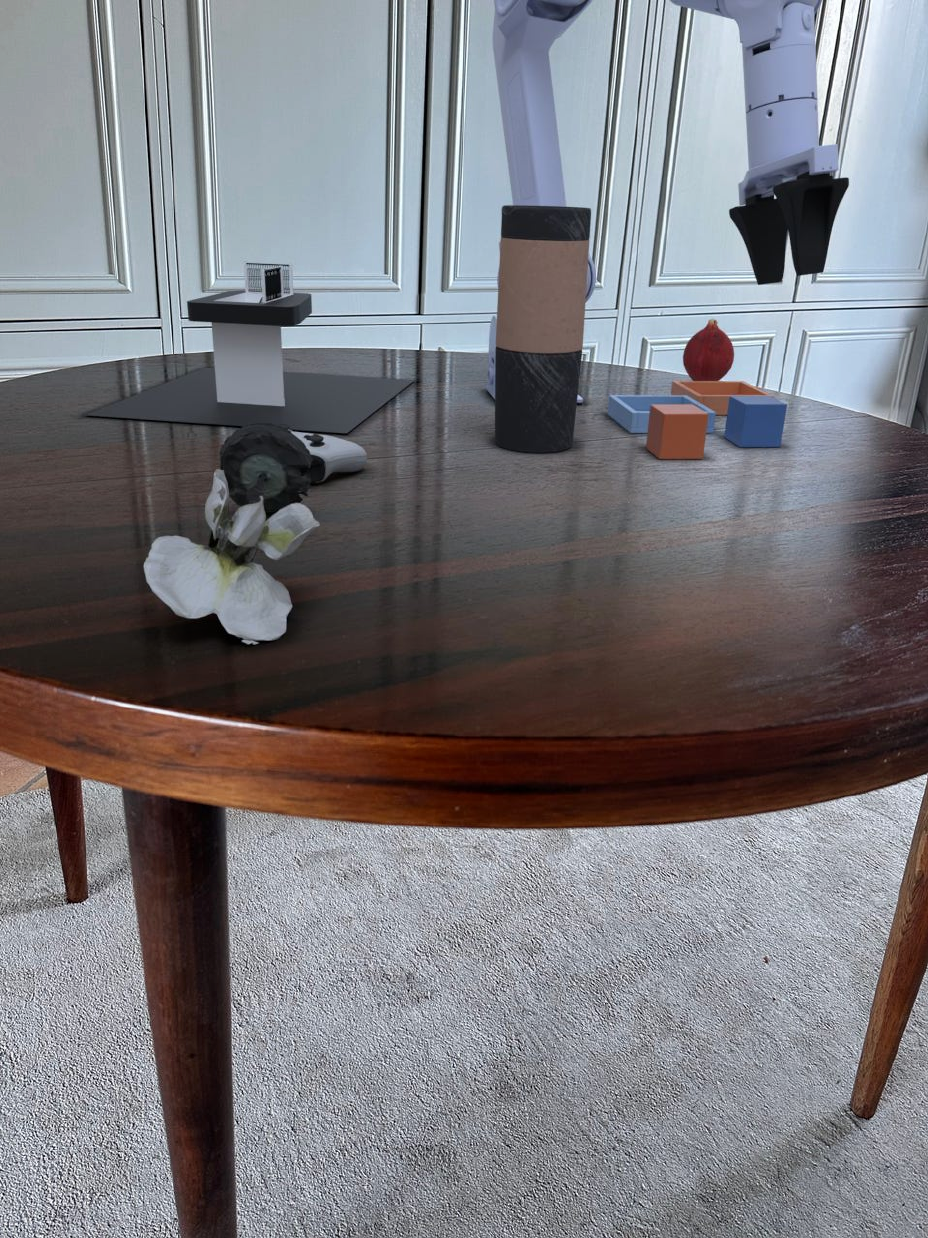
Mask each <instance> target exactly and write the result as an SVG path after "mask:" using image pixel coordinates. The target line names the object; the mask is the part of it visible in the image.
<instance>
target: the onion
mask: <svg viewBox="0 0 928 1238" xmlns="http://www.w3.org/2000/svg"><path fill="white" fill-rule="evenodd" d="M718 323H719V322H718V321H717V320H716V319H715V318H711V319H709V320H708V321H707V324H706V326H705V327H703V328H702V329H700V330H699V331H697V332H696V333H695V334H693V335H692V337H690V339H689V340H688V341H687V343H686V345H685V347H684V349H683V355H682V365H683V367H684V370H685V372H686V373H687V375H688V377H689V378H690V379H691V381H722V379H723V378H724V377H726V375H727V374H728V373H729V371H730V370H731V369H732V367H733V364H734V361H735V348H734V346H733V342H732V341H731V338H730V337H729V336H728V335H727V334H726V333H725V332H724V331H723V330H722V329H721V328H720V327H719V326H718Z"/></svg>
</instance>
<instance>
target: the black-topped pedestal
mask: <svg viewBox="0 0 928 1238" xmlns="http://www.w3.org/2000/svg"><path fill="white" fill-rule="evenodd" d="M255 267H257V268H255ZM262 267H264V268H262ZM287 268H288V269H287ZM284 271H285V272H284ZM254 272H255V273H254ZM243 273H244V274H243V275H244V289H245V290H244V289H243V290H241V289H240V290H227V291H224V292H219V293H215V294H211V295H207V296H202V297H199V298H195V299H191V300H187V301H186V305H187V306H186V308H187V317H188V318H187V319H188V321H189V322H194V323H195V322H196V323H197V322H198V323H211V333H212V349H213V362H214V367H202V368H199V369H198V370H195V371H192V372H190V373H187V374H185V375H183V376H179V377H177V378H175V379H172V380H170V381H167V382H165V383H162V384H160V385H156V386H154V387H152V388H150V389H147V390H145V391H142V392H139V393H136V394H134V395H132V396H129V397H127V398H125V399H122V400H119V401H116V402H114V403H112V404H109V405H106V406H104V407H101V408H99V409H96V410H94V411H91V412H89V413H86V414H85V416H91V417H104V418H105V417H107V418H119V419H120V418H122V419H134V420H135V419H136V420H149V421H150V420H151V421H163V422H178V423H193V424H204V425H205V424H207V425H219V426H220V425H223V426H233V427H234V426H237V427H243V426H246V425H250V424H254V423H271V424H274V425H277V426H278V425H280V424H288V425H290V429H289V430H291V431H293V430H295V431H306V432H321V433H336V434H338V433H339V434H349V432H350V431H352V430H353V429H354V428H356V427H357V426H358V425H360V424H361V423H362V422H363V421H365V420H366V419H368V418H369V417H370V416H371V415H372V414H373V413H375V412H376V411H377V410H379V409H380V408H382V406H384V405H385V404H386V403H388V402H389V401H390V400H391V399H393V398H394V397H395V396H396V395H398V394H399V393H400V392H401V391H403V390H404V389H405V388H407V387H408V386H409V385H411V384H412V383H413V382H414V381H415V380H414V379H402V378H400V379H399V378H385V377H384V378H383V377H367V376H350V375H336V374H335V375H334V374H318V373H317V374H316V373H301V372H284V361H283V341H282V327H294V326H299V325H300V324H302V323H303V321H304V320H306V319H308V317H309V316H310V315H311V314H312V313H313V303H312V302H313V300H312V299H313V298H312V293H306V292H294V279H293V278H294V275H293V263H292V262H289V263H288V264H285V263H284V264H282V263H281V264H280V263H260V262H259V263H258V262H248V261H247V260H244V261H243ZM286 274H287V277H286ZM249 276H250V278H249ZM256 276H257V277H256ZM288 279H289V282H288ZM258 280H259V282H258ZM251 281H252V282H251ZM253 285H254V286H253ZM260 285H261V286H260ZM251 289H253V290H251ZM258 289H260V290H258ZM288 290H289V291H288Z"/></svg>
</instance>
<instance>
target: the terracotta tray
mask: <svg viewBox="0 0 928 1238" xmlns="http://www.w3.org/2000/svg"><path fill="white" fill-rule="evenodd" d="M670 395H681V396H682V395H687V396H689V397H690V398H692V399H694V400H695V401H697V402H699V403H701V404H702V405H704V406H706V407H707V408H709V409H711V410H713V411H714V412H716V416H727V411H728V404H729V396H771V397H773V398H775V395H773V394H771V393H770V392H767V391H764V390H763V389H760V388H758V387H756V386H754V385H752V384H750V383H748V382H746V381H745V380H739V381H738V380H719V381H693V380H672V381H671V388H670Z"/></svg>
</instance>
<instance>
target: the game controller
mask: <svg viewBox="0 0 928 1238" xmlns="http://www.w3.org/2000/svg"><path fill="white" fill-rule="evenodd" d="M278 426H279V427H280V426H281V427H282V428H284V429H286V430H289V431H290V432H291V433H292V434H294V435H295V436H296V437H297V438H299V439H300V440H301V441H302V442H303V443H304V444H305V446H306V448H307V449H308V450H309V451H310V455H311V456H312V458H313V459H314V460H313V461H312V462H311V466H310V468H308V467H304V468H300V469H299V471H300V473H303V474H306V475H307V474H308V473H309V474H310V475H311V476H310V479H311V480H312V481H311V484H318V483H322V482H324V481H325V480H327V478H328V477H329V476H330V475H332V473H355V472H358V471H360V470H362V469H364V467H365V466H366V464H367V461H368V455H367V452H366V451H365V449H364V448H363V447H362V446H361V445H359V444H357V443H355V442H352V441H349V440H347V439H342V438H339V437H336V436H332V435H328V434H327V435H326V434H319V433H309V432H299V431H293V430H292V429H290V425H288V424H280V425H278Z"/></svg>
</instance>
